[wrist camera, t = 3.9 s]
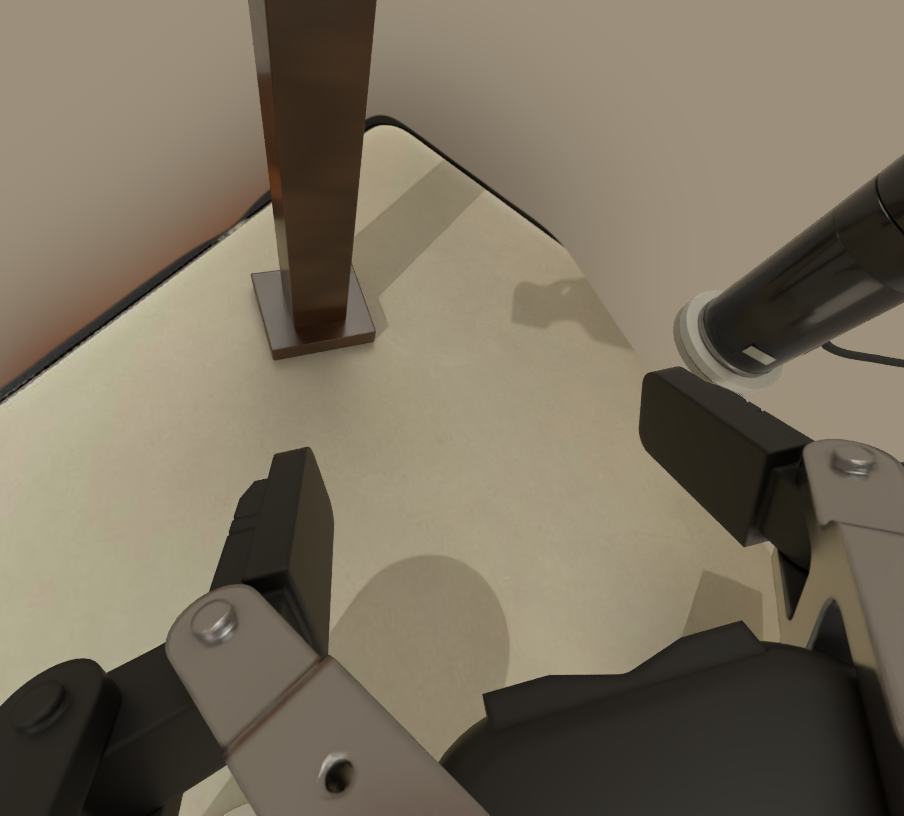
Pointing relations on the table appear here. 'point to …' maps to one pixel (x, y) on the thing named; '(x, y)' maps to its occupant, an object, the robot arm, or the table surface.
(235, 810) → the cup
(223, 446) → the table surface
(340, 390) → the table surface
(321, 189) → the stand
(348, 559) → the table surface
